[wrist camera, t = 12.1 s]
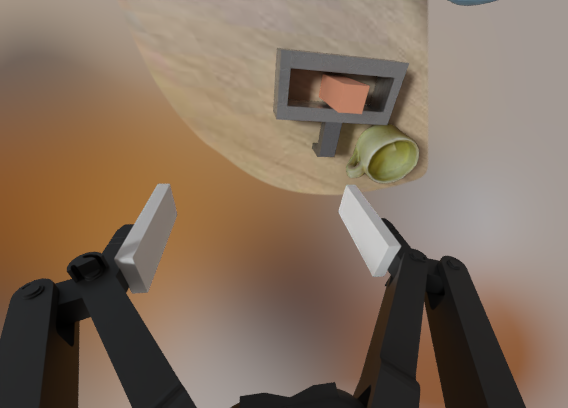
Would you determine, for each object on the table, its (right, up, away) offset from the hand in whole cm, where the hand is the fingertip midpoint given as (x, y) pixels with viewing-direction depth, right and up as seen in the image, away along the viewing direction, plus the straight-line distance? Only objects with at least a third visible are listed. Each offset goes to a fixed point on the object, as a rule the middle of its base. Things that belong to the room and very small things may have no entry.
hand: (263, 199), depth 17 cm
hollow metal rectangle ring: (+9, +17, +23) cm, 30 cm away
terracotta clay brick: (+10, +20, +21) cm, 30 cm away
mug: (+18, +11, +29) cm, 36 cm away
